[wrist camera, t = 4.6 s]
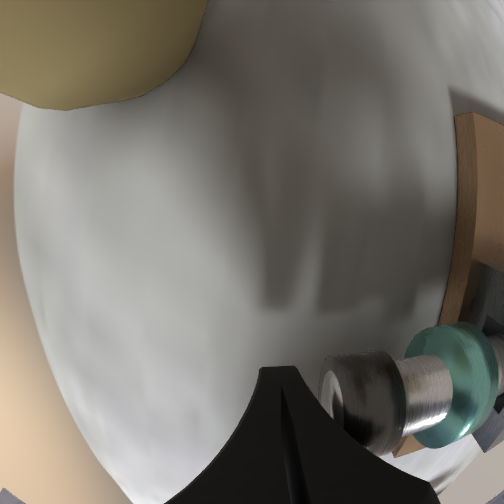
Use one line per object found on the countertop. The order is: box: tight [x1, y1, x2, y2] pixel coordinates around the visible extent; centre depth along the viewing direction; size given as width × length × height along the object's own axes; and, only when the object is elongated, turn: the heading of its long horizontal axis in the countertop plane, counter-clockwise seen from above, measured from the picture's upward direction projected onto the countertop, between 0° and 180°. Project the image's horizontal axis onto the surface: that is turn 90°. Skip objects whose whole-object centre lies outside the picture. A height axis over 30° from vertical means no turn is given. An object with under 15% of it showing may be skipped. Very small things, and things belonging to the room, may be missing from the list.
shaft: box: [318, 322, 504, 457], centre depth 7 cm, size 15×5×5 cm, turn 91°
